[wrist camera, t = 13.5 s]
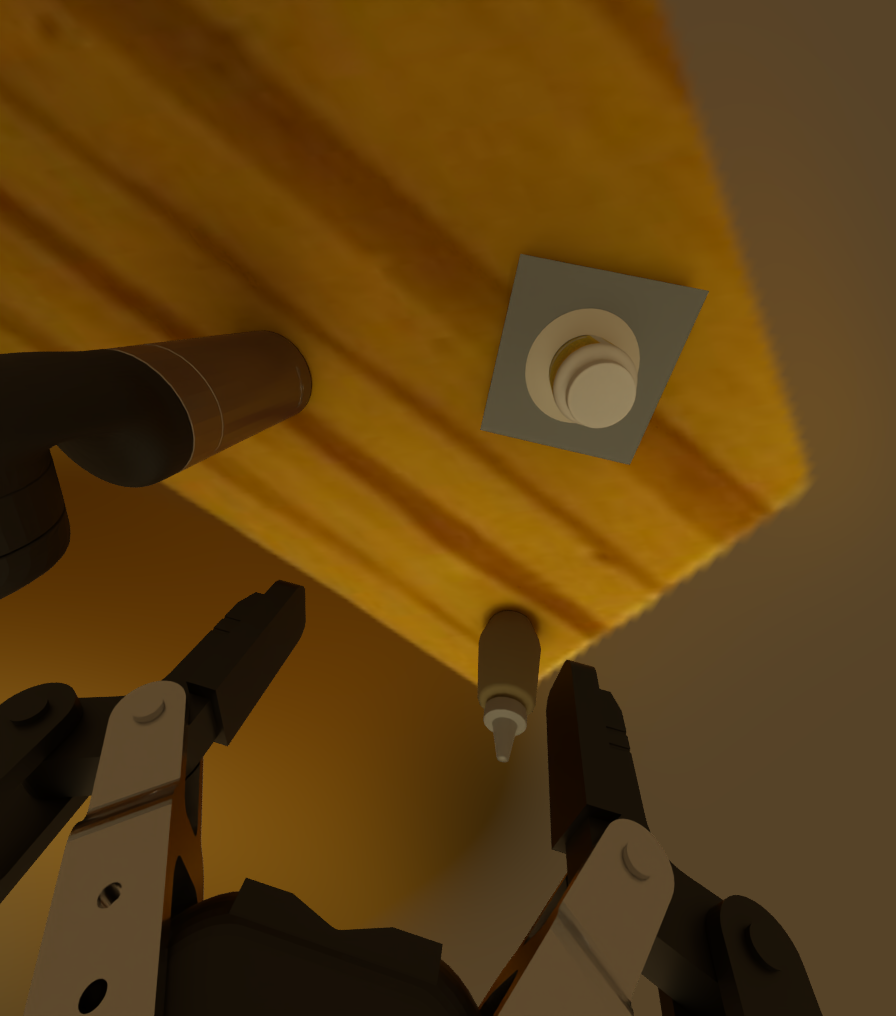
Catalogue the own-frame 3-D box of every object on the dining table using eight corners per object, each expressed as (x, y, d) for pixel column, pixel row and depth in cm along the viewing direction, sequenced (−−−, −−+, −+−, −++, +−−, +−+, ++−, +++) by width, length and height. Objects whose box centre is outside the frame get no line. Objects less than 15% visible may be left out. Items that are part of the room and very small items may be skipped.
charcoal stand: (485, 415, 40) (480, 430, 36) (521, 259, 33) (520, 253, 29) (618, 446, 39) (630, 465, 35) (684, 292, 32) (710, 290, 28)
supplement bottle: (539, 394, 33) (543, 426, 25) (561, 326, 30) (574, 337, 22) (600, 410, 33) (625, 448, 24) (628, 343, 30) (667, 360, 22)
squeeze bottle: (510, 654, 56) (502, 789, 41) (470, 621, 55) (446, 749, 39) (552, 629, 52) (562, 768, 37) (511, 593, 51) (502, 723, 35)
